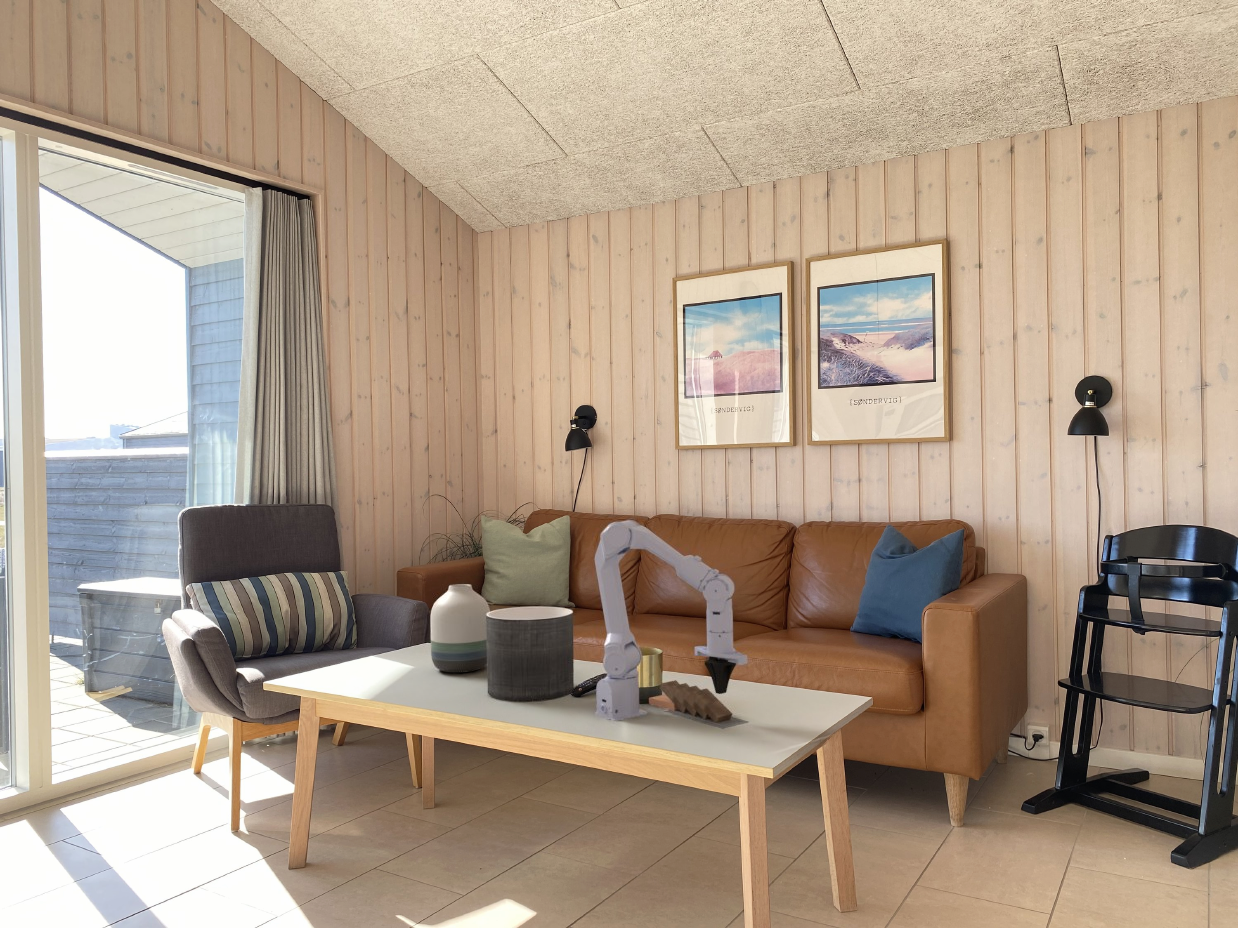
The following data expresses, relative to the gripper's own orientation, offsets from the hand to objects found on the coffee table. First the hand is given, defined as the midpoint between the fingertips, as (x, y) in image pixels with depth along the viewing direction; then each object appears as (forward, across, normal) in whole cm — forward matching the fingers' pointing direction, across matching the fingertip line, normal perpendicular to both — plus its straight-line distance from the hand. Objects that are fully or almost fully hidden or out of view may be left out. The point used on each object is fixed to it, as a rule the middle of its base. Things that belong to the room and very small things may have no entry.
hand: (721, 692), depth 194 cm
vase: (+7, +88, +17) cm, 90 cm away
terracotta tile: (+5, +13, 0) cm, 14 cm away
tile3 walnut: (+5, +6, 0) cm, 8 cm away
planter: (+7, +52, +16) cm, 55 cm away
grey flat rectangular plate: (+6, +5, 0) cm, 8 cm away
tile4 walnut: (+5, +10, 0) cm, 11 cm away
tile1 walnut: (+5, -1, 0) cm, 5 cm away
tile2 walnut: (+5, +3, 0) cm, 6 cm away
